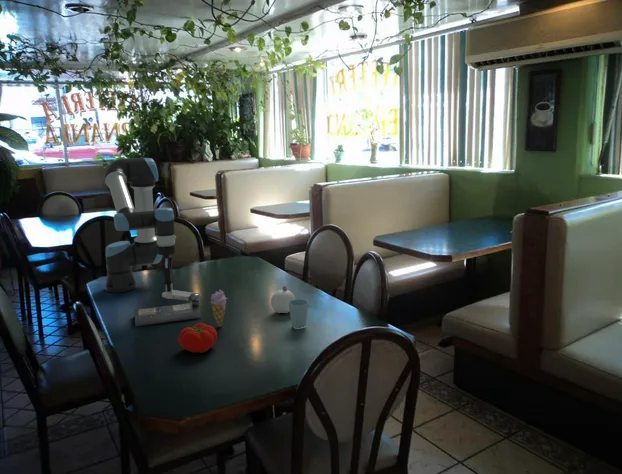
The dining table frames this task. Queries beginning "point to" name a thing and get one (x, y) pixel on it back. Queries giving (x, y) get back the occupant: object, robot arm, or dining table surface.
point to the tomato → (197, 338)
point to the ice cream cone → (218, 306)
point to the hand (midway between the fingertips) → (169, 298)
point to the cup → (298, 312)
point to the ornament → (282, 300)
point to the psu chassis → (167, 313)
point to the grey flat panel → (184, 295)
